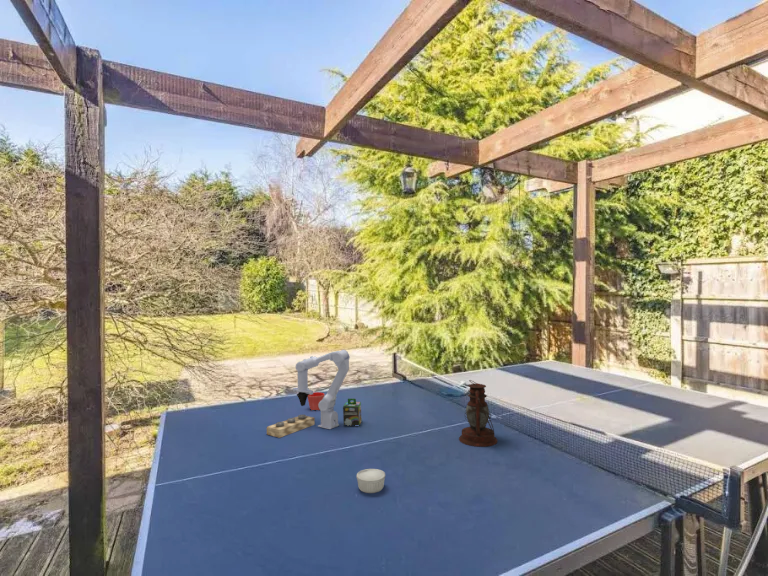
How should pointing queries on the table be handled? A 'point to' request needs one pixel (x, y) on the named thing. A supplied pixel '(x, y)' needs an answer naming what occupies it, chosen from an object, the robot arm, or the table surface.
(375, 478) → the ramekin
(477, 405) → the lantern
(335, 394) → the robot arm
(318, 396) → the flower pot
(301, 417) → the plunger
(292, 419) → the plunger
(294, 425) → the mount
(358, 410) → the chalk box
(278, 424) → the plunger
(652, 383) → the table surface
